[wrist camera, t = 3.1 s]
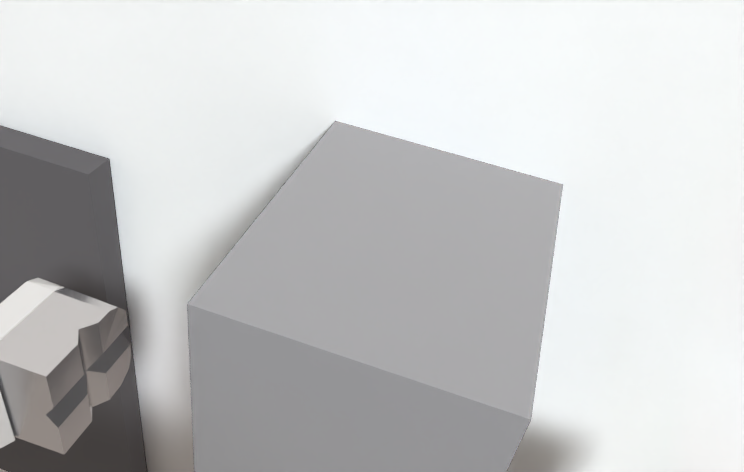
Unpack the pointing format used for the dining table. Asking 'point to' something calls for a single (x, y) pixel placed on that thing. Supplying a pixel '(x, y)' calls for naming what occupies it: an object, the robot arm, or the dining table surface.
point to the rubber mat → (67, 281)
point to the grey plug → (376, 316)
